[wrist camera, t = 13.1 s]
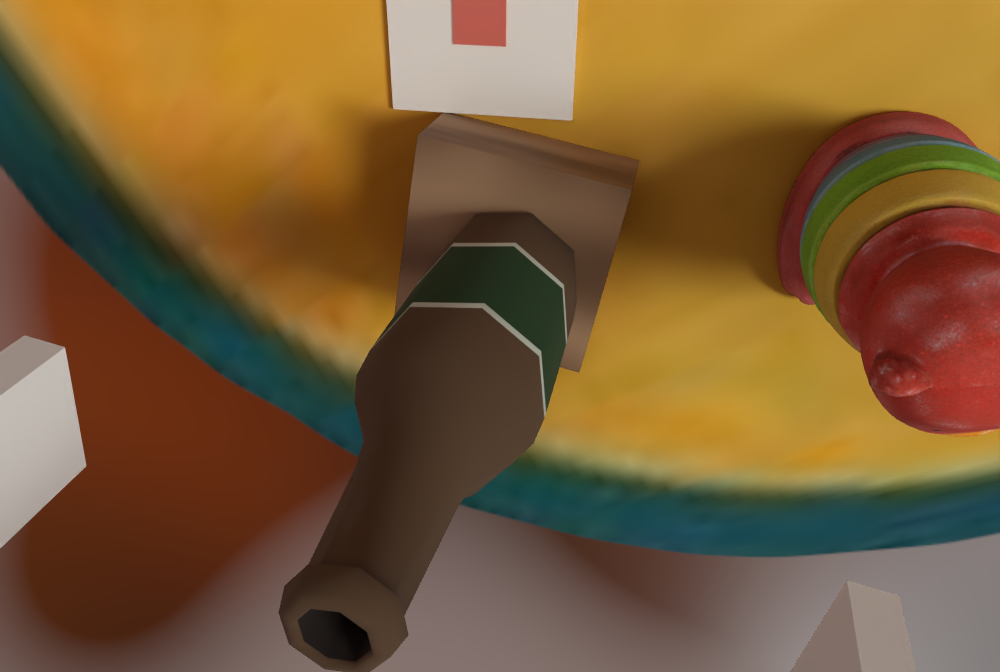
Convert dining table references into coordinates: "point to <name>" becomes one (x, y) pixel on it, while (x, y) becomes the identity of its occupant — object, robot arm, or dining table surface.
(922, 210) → the stacking bear
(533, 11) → the page
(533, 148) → the walnut base brick
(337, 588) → the beer bottle
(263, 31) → the dining table surface
